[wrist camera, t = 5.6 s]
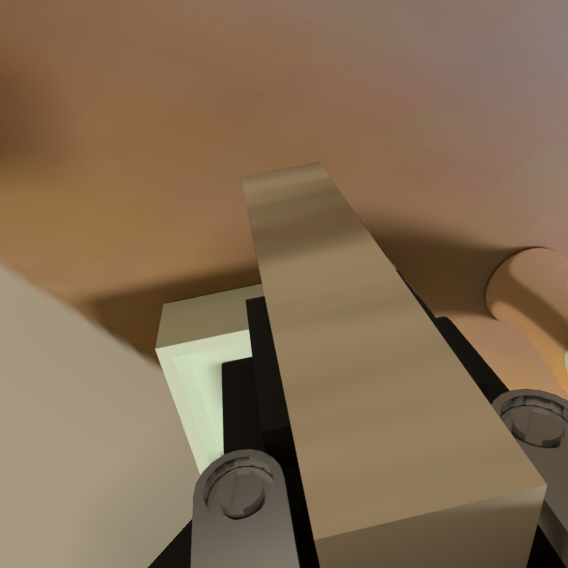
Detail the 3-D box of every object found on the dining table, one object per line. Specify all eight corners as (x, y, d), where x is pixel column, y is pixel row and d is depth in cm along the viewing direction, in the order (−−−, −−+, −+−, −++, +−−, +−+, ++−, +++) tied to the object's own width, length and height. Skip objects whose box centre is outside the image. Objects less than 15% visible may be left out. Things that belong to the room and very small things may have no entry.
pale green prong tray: (163, 304, 30) (155, 349, 25) (387, 257, 31) (417, 293, 26) (215, 462, 37) (216, 519, 33) (396, 421, 38) (421, 471, 33)
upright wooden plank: (240, 177, 14) (314, 539, 5) (318, 161, 14) (547, 485, 5) (269, 310, 16) (352, 709, 7) (334, 296, 17) (499, 672, 7)
